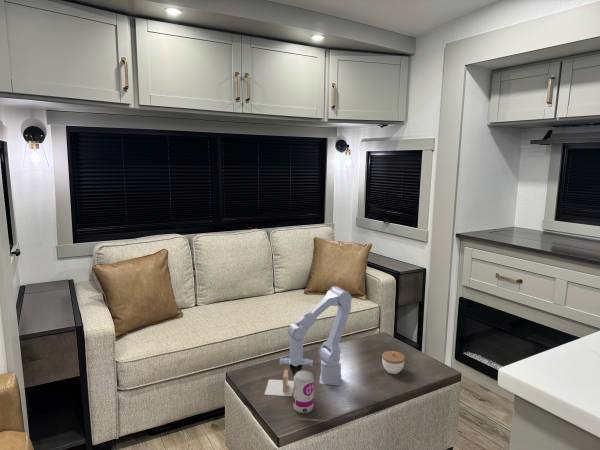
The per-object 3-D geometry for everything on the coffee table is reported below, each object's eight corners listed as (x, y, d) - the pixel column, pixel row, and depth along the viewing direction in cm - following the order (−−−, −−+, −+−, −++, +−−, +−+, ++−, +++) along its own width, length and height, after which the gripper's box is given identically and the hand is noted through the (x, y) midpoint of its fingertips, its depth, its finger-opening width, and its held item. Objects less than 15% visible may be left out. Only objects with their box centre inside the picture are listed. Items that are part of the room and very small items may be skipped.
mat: (294, 382, 187) (294, 380, 187) (291, 397, 176) (291, 396, 176) (268, 380, 188) (268, 379, 188) (264, 395, 177) (264, 394, 177)
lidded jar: (392, 379, 191) (393, 360, 189) (376, 368, 200) (377, 351, 198) (408, 372, 197) (409, 354, 195) (392, 363, 206) (393, 345, 204)
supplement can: (317, 409, 167) (317, 376, 165) (300, 416, 163) (301, 382, 160) (305, 400, 174) (306, 367, 171) (289, 406, 169) (289, 373, 167)
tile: (288, 384, 185) (288, 369, 183) (286, 391, 179) (286, 377, 178) (284, 384, 185) (284, 369, 184) (282, 391, 179) (282, 376, 178)
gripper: (278, 354, 175) (278, 383, 177) (312, 356, 174) (311, 385, 176) (280, 346, 182) (280, 374, 184) (313, 348, 181) (312, 376, 183)
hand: (296, 379), depth 181 cm, fingers closed
